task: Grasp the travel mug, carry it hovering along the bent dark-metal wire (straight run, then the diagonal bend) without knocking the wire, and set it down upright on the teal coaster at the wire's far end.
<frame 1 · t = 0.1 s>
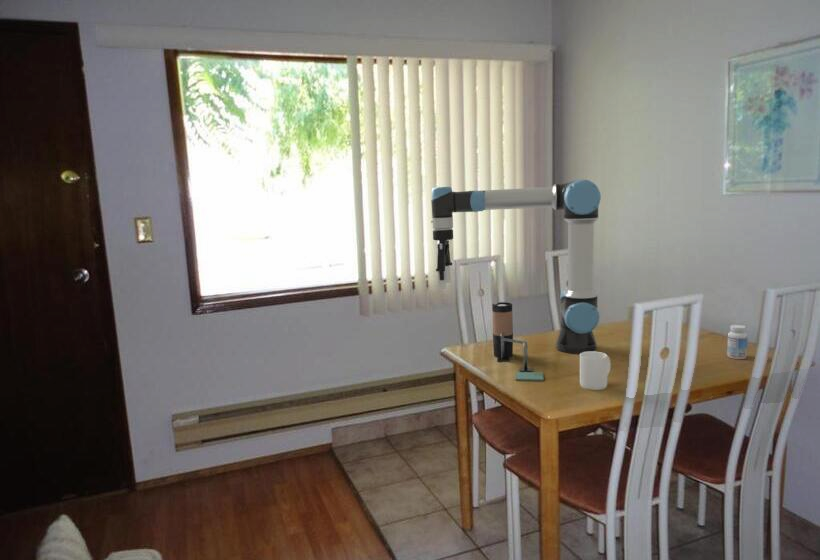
hand: (444, 285, 209), 28 cm above the table, fingers open, 13 cm apart
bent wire: (514, 365, 200), on the table
travel mug: (503, 355, 213), on the table
cup: (597, 385, 177), on the table
pill bottle: (736, 357, 198), on the table
coaster: (529, 377, 187), on the table
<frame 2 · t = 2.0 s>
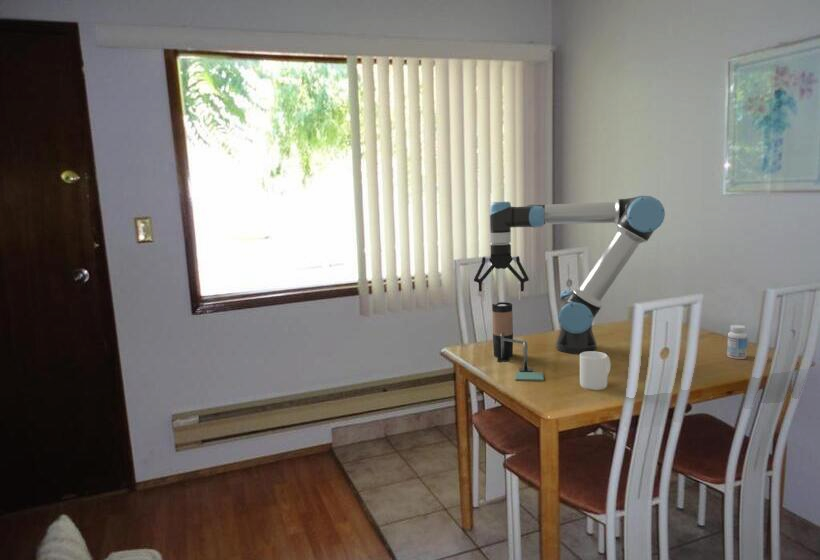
hand: (501, 299, 209), 22 cm above the table, fingers open, 13 cm apart
nothing on the table moved.
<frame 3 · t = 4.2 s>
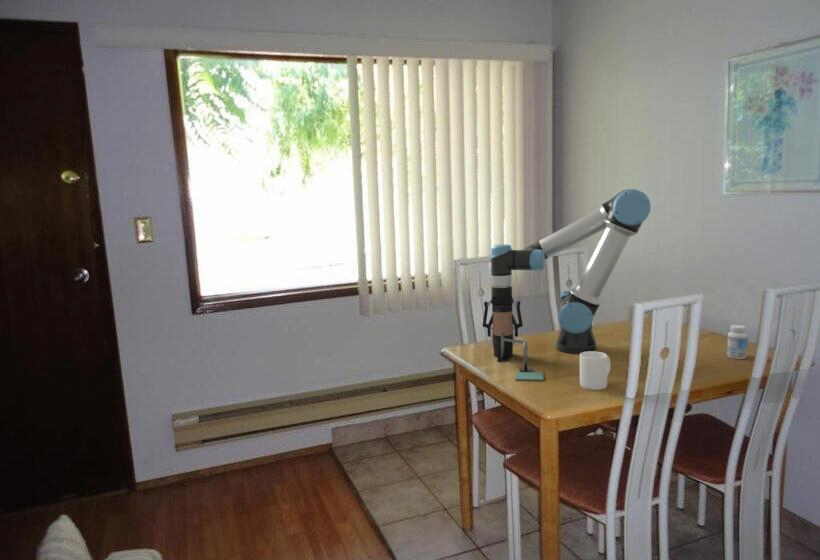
hand: (502, 344, 212), 4 cm above the table, fingers closed on travel mug, 8 cm apart
travel mug: (503, 355, 213), on the table, touching gripper
everything else where it was.
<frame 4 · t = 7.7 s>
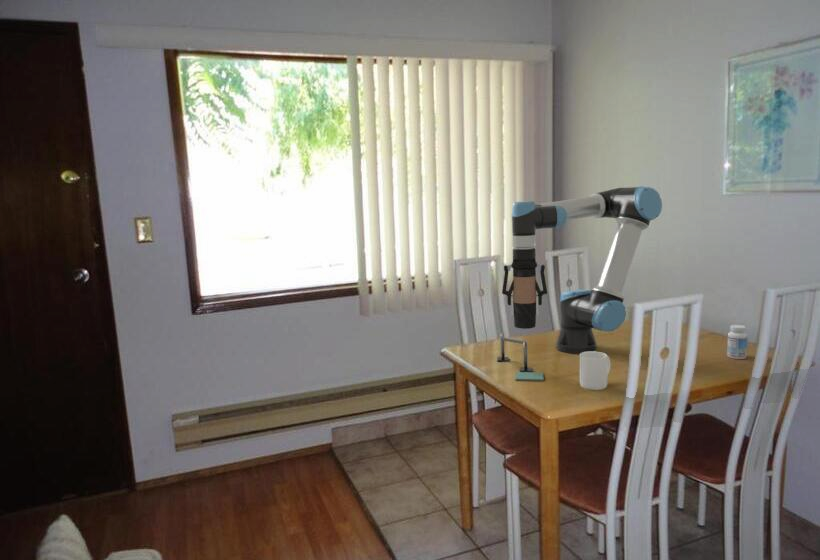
hand: (524, 314, 190), 20 cm above the table, fingers closed on travel mug, 8 cm apart
travel mug: (524, 326, 190), point 16 cm above the table, touching gripper
everything else where it was.
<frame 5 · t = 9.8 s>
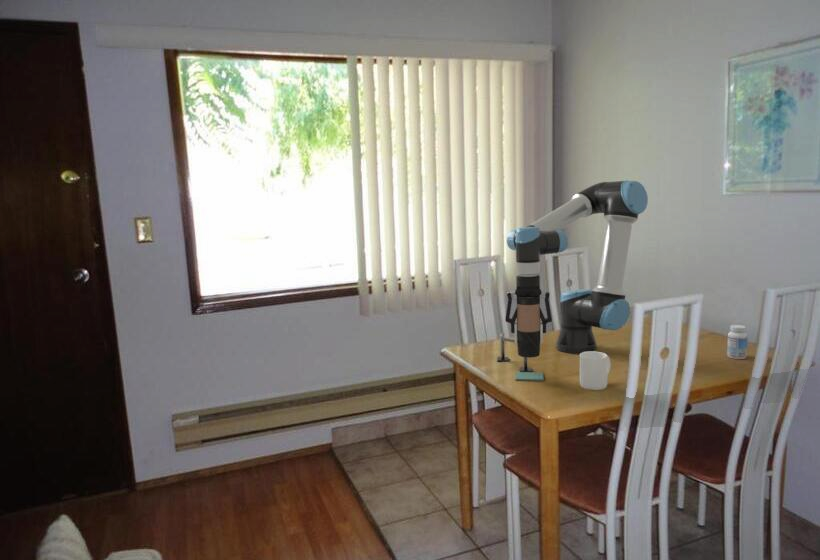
hand: (528, 342, 185), 12 cm above the table, fingers closed on travel mug, 8 cm apart
travel mug: (528, 355, 185), point 8 cm above the table, touching gripper
everything else where it was.
when the fingers open (6 cm above the table, at t = 11.3 s): travel mug drops 1 cm, resting on coaster.
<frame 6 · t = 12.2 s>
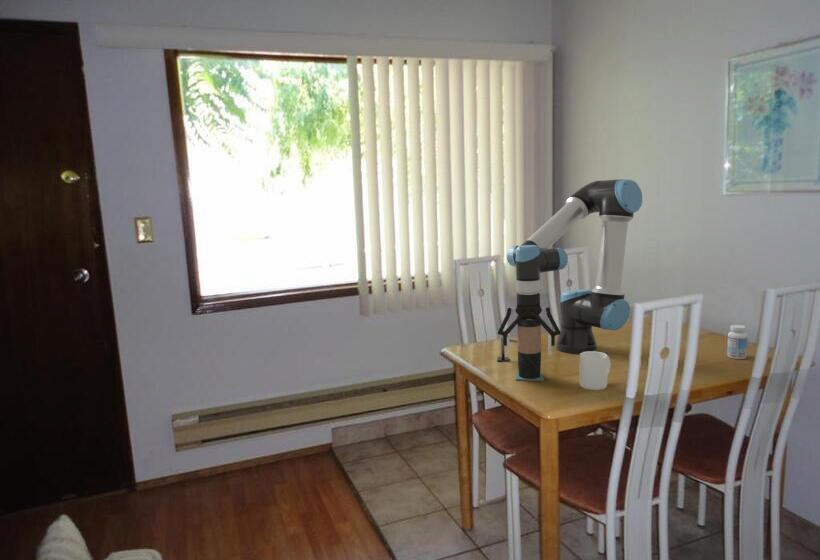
hand: (529, 355, 185), 8 cm above the table, fingers open, 13 cm apart
travel mug: (529, 376, 187), resting on coaster
everything else where it was.
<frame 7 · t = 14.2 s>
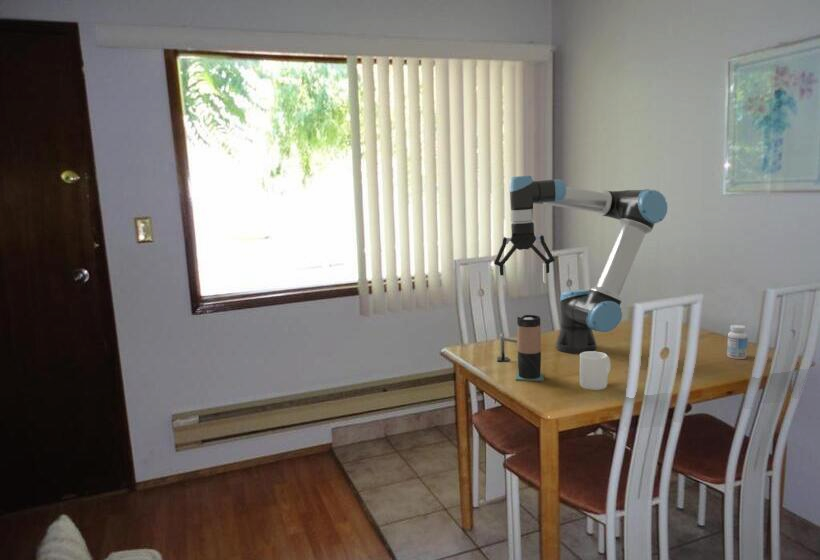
hand: (524, 283, 192), 30 cm above the table, fingers open, 13 cm apart
nothing on the table moved.
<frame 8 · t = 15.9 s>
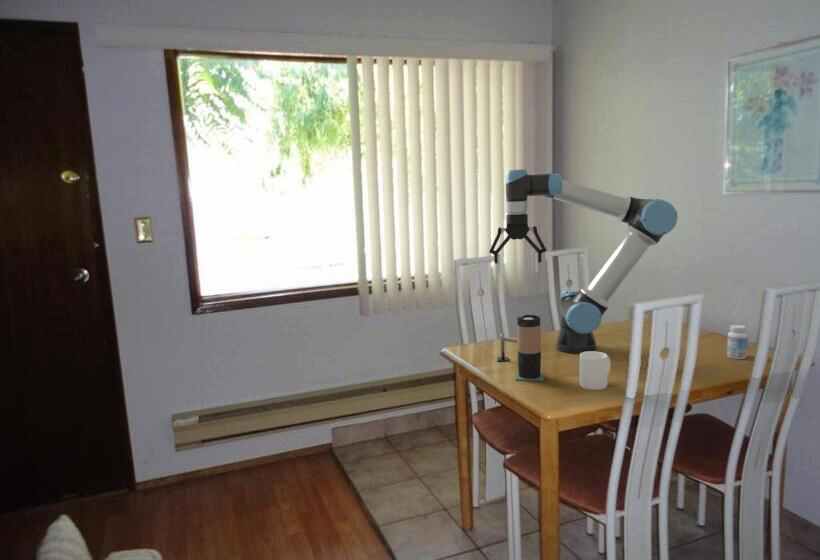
hand: (517, 272, 203), 33 cm above the table, fingers open, 13 cm apart
nothing on the table moved.
at the end: travel mug 0.1 cm from the coaster (horizontally); travel mug tilted 0°; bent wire moved 0.0 cm from its start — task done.
